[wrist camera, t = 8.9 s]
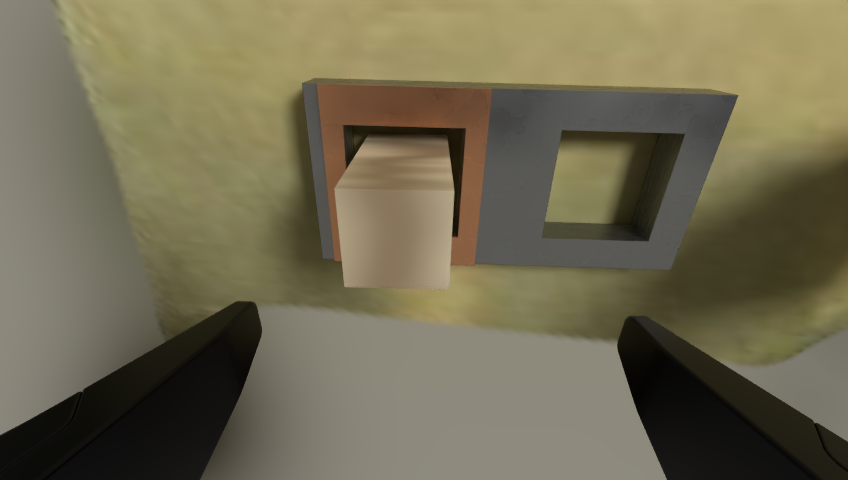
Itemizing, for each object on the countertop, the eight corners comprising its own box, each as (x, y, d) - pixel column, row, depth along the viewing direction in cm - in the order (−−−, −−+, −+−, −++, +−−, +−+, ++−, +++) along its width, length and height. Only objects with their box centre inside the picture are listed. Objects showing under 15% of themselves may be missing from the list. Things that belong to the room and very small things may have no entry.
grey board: (709, 89, 18) (741, 95, 17) (651, 251, 23) (672, 272, 21) (314, 78, 19) (300, 83, 17) (331, 241, 23) (322, 260, 21)
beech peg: (447, 134, 20) (454, 190, 13) (444, 206, 22) (448, 289, 15) (369, 133, 20) (334, 188, 13) (373, 204, 22) (344, 287, 15)
